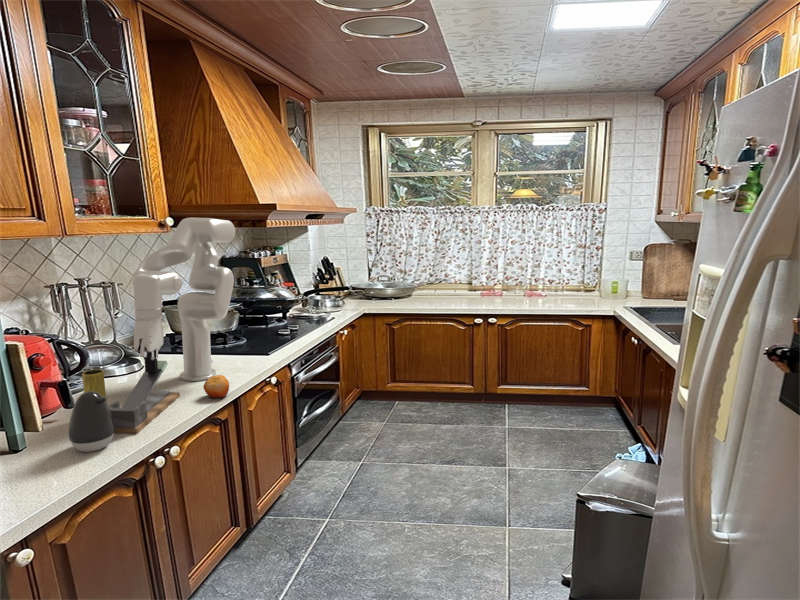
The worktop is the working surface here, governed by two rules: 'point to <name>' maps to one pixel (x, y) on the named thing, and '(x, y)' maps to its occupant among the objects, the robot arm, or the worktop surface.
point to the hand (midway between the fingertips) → (151, 371)
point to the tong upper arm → (144, 386)
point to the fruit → (216, 386)
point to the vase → (94, 381)
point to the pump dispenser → (91, 423)
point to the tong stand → (141, 412)
